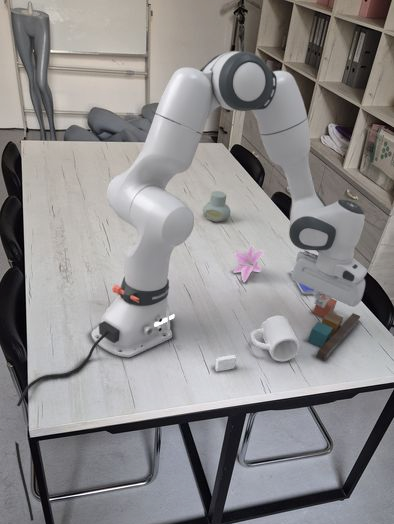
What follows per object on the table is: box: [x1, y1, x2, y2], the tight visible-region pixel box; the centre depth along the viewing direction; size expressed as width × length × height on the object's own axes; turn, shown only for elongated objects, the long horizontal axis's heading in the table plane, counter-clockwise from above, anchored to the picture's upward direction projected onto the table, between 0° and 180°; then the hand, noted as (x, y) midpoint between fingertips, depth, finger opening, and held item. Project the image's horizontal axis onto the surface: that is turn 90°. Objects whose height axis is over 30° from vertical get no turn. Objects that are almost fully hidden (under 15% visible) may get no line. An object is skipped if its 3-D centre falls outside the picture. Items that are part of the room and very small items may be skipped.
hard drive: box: [290, 270, 323, 295], centre depth 160 cm, size 2×8×12 cm
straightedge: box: [316, 312, 361, 362], centre depth 138 cm, size 24×2×2 cm, turn 143°
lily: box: [233, 243, 266, 284], centre depth 159 cm, size 12×12×10 cm
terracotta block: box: [313, 294, 338, 319], centre depth 147 cm, size 4×4×4 cm
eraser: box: [214, 354, 237, 372], centre depth 123 cm, size 1×5×4 cm, turn 110°
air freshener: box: [202, 190, 232, 223], centre depth 190 cm, size 11×8×10 cm
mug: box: [249, 315, 301, 362], centre depth 129 cm, size 12×10×8 cm
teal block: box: [307, 321, 333, 348], centre depth 136 cm, size 4×4×4 cm
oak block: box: [321, 311, 344, 337], centre depth 140 cm, size 4×4×4 cm
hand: (319, 305), depth 139 cm, fingers closed
